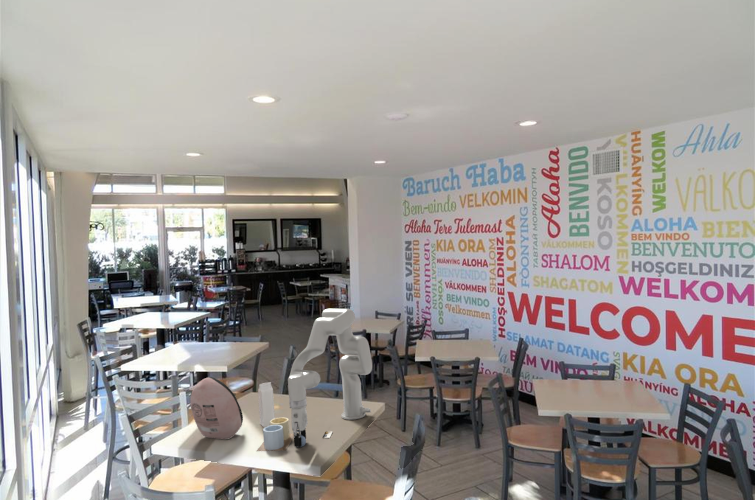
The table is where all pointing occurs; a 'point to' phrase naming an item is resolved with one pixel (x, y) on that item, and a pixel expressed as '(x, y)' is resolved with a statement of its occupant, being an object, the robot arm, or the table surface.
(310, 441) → the table surface
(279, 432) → the tube blue
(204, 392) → the packaged food
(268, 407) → the milk
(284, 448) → the tube board
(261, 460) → the table surface
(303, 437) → the ball blue
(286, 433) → the tube
